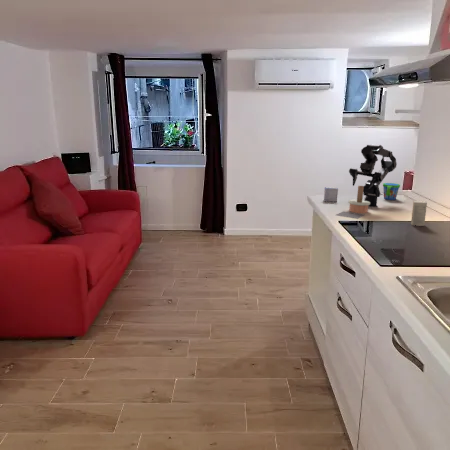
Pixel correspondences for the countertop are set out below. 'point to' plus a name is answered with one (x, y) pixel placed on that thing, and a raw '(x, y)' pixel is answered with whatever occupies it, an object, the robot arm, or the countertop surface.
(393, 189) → the snack cup
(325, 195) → the medicine box
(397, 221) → the countertop surface
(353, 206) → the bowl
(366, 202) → the lid
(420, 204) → the skincare box
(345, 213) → the mat
